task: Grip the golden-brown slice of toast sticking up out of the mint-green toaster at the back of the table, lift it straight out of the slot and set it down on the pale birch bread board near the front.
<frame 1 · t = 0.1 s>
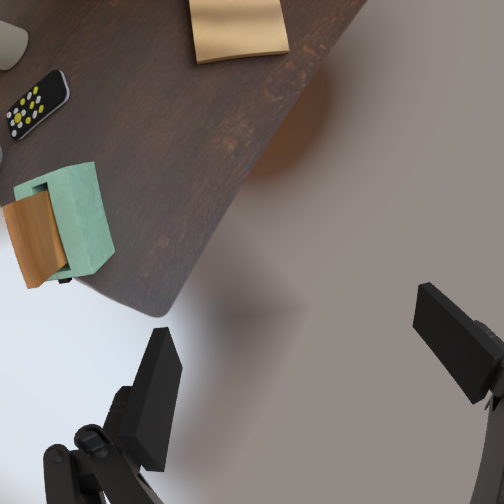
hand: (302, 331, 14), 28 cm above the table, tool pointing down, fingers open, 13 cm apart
remote control: (39, 105, 32), on the table
toaster: (77, 214, 39), on the table
board: (236, 15, 30), on the table
toast: (67, 219, 36), point 3 cm above the table, touching toaster
travel mug: (13, 49, 28), on the table
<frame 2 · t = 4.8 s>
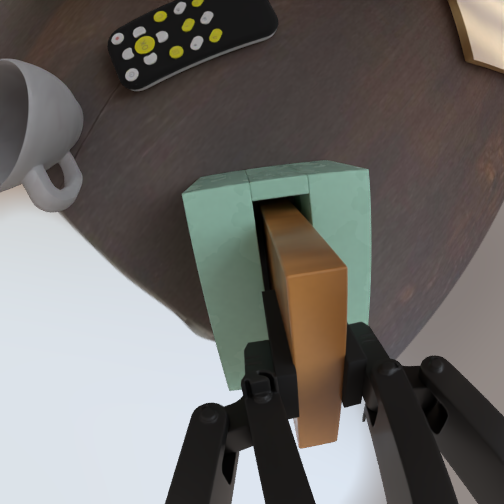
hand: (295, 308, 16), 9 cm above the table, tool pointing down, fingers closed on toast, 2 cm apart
remote control: (192, 34, 18), on the table
toaster: (275, 251, 25), on the table
board: (483, 18, 16), on the table
mug: (68, 138, 20), on the table
toast: (280, 265, 22), point 3 cm above the table, touching gripper, toaster
when the fingers open (7 cm above the table, at t = 15.0 s): toast stays where it is, resting on board.
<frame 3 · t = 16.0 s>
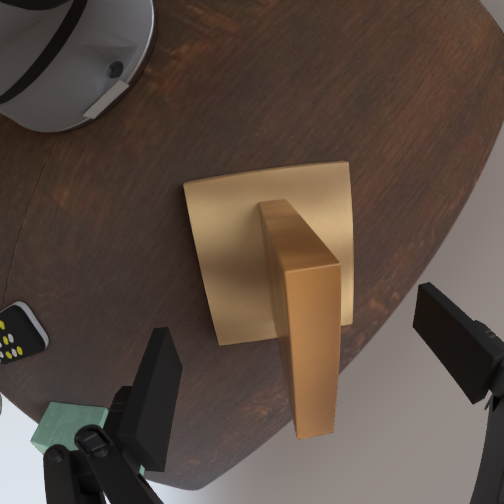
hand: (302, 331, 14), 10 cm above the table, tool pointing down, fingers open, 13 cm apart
remote control: (14, 331, 26), on the table
toaster: (99, 435, 33), on the table
board: (276, 255, 24), on the table
toast: (279, 264, 23), point 1 cm above the table, touching board
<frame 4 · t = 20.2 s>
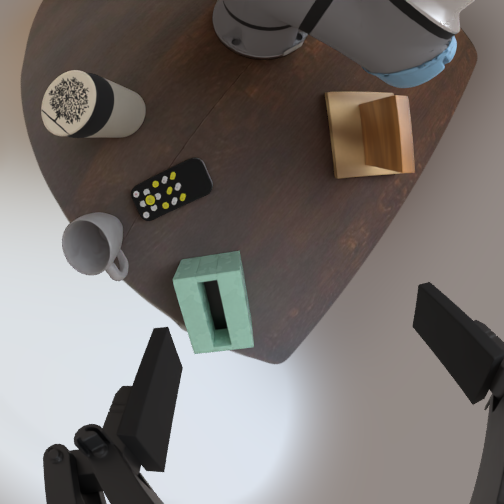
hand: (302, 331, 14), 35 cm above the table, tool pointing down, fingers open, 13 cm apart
remote control: (172, 188, 45), on the table
toaster: (217, 291, 52), on the table
board: (363, 133, 43), on the table
mug: (115, 236, 48), on the table
toast: (367, 134, 42), point 1 cm above the table, touching board
travel mug: (123, 113, 41), on the table
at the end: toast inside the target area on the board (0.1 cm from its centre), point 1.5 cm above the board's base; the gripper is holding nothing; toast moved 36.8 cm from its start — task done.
